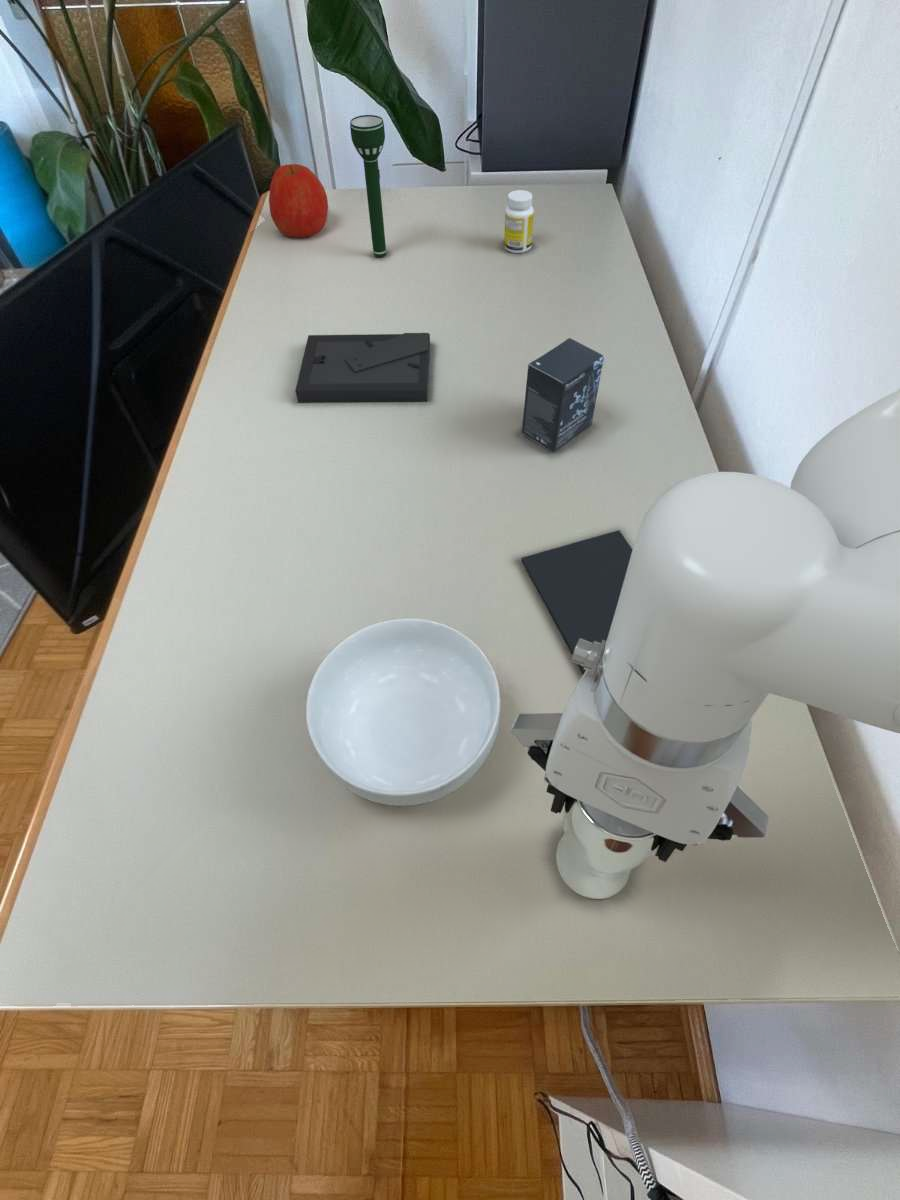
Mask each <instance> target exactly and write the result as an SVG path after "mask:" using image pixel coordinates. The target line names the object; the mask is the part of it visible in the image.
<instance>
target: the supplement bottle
mask: <svg viewBox="0 0 900 1200" xmlns="http://www.w3.org/2000/svg"><path fill="white" fill-rule="evenodd" d="M504 210H505V211H504V234H503V235H504V236H503V237H504V239H503V241H504V242H503V246H504V249H505V250H506V251H508V252H510V253H513V254H522V253H525V252H528V251H530V250H531V248H532V246H533V233H534V232H533V231H534V214H535V209H534V207H533V194H532V192H530V191H529V190H526V189H525V190H524V189H517V190H516V189H515V190H512V191H510V192H509V193H508V195H507V206H506V207H505V209H504Z"/></svg>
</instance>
